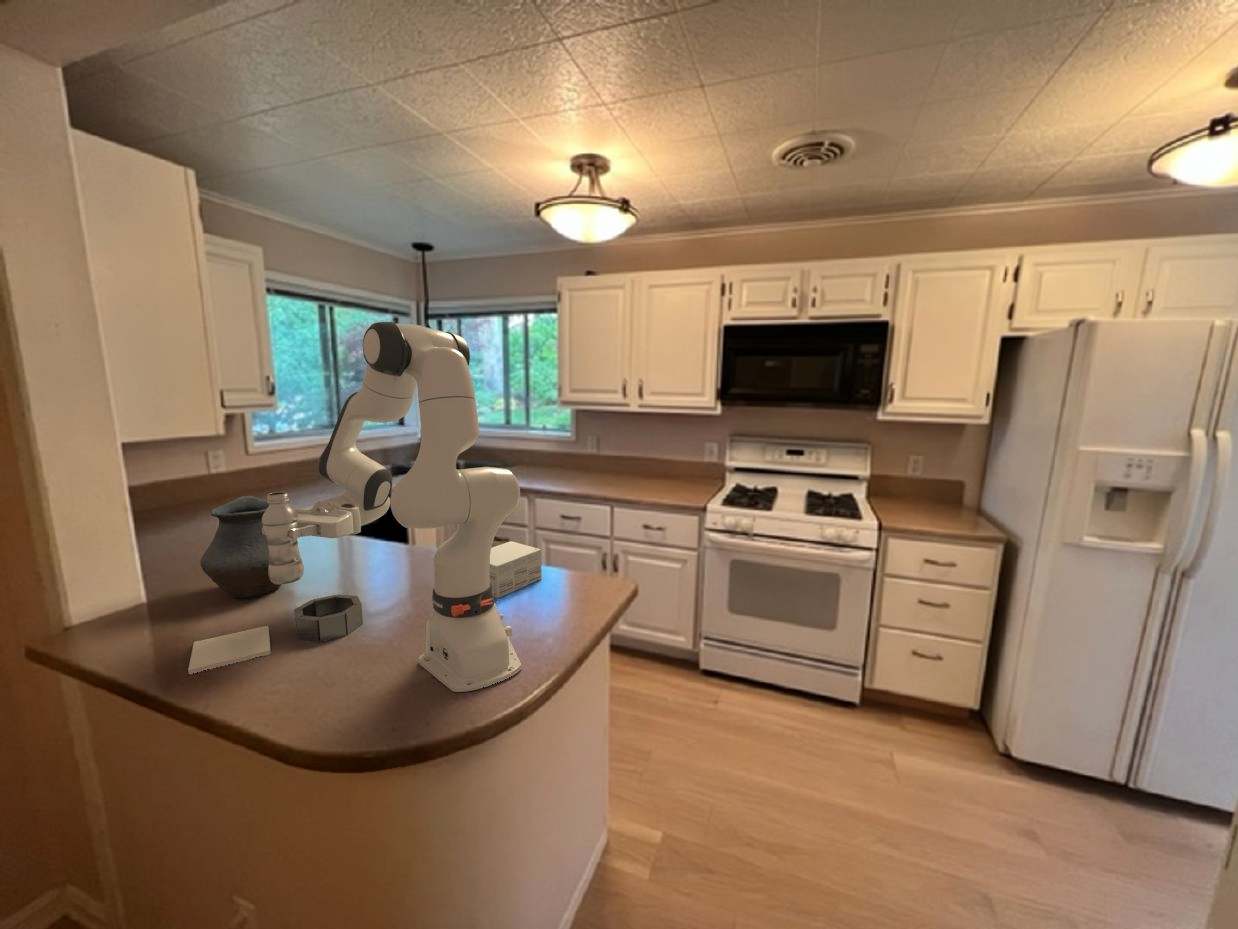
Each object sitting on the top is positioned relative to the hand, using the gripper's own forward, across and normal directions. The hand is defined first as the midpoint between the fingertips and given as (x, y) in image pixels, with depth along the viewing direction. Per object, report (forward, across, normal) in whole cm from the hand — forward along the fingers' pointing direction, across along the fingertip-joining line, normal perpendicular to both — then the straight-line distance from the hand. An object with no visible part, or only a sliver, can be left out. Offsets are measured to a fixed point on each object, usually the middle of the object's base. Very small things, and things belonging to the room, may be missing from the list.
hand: (277, 533), depth 107 cm
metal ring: (-6, +5, +24) cm, 25 cm away
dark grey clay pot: (-17, -31, +24) cm, 43 cm away
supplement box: (-43, +30, +25) cm, 58 cm away
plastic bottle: (-1, 0, +12) cm, 12 cm away
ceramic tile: (+8, -6, +24) cm, 26 cm away
